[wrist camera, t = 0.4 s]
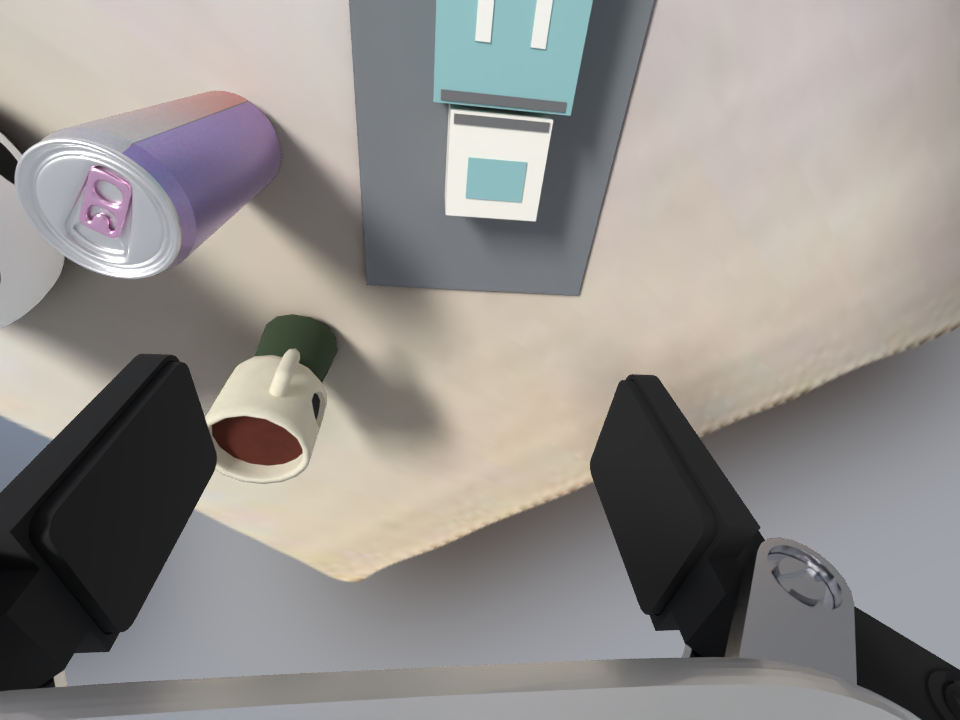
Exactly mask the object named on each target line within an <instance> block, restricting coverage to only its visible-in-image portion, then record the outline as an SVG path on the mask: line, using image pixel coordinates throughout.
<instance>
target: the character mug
mask: <svg viewBox="0 0 960 720" xmlns="http://www.w3.org/2000/svg"><path fill="white" fill-rule="evenodd" d="M337 350H338V348H337V343H336V337H335V336H334V335H333V333H332V332H331V331H330V330H329V328H328V327H327V326H326V325H325V324H323V323H320V322H318V321H316V320H314V319H312V318H309V317H304V316H298V315H286V316H279V317H276V318H275V319H273V320H272V321H271V322H269V323H268V324H267V325H266V327H265V329H264V332H263V334H262V337H261V339H260V343H259V346H258V349H257V352H256V355H255V356H254V357H252V358H250V359H248V360H246V361H244V362H242V363H240V364H239V365H238V366H237V367H236V368H235V370H234V371H233V373H232V374H231V376H230V377H229V379H228V380H227V382H226V384H225V385H224V387H223V389H222V390H221V392H220V394H219V395H218V397H217V399H216V400H215V402H214V404H213V405H212V407H211V409H210V410H209V412H208V414H207V415H206V417H205V419H206V423H207V426H208V429H209V432H210V435H211V438H212V441H213V444H214V447H215V450H216V453H217V464H216V468H215V469H216V470H217V471H218V472H220V473H221V474H223V475H226V476H229V477H231V478H234V479H237V480H240V481H242V482H251V483H260V484H267V483H276V482H283V481H286V480H288V479H291V478H293V477H296V476H298V475H299V474H300V473H301V472H303V471H304V470H305V469H306V467H307V466H308V464H309V461H310V458H311V455H312V451H313V448H314V445H315V441H316V438H317V435H318V432H319V429H320V426H321V423H322V420H323V416H324V411H325V408H326V404H327V393H326V391H325V389H324V386H323V384H322V381H323V380H324V378H325V376H326V374H327V372H328V370H329V368H330V366H331V364H332V361H333V359H334V357H335V355H336V353H337Z"/></svg>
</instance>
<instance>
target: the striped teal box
mask: <svg viewBox="0 0 960 720" xmlns="http://www.w3.org/2000/svg"><path fill="white" fill-rule="evenodd" d="M592 2H593V0H436V30H435V64H434V99H433V102H439V103H449V104H459V105H469V106H479V107H489V108H499V109H509V110H519V111H528V112H538V113H548V114H558V115H568V116H571V111H572V106H573V101H574V95H575V90H576V85H577V80H578V75H579V70H580V64H581V59H582V54H583V49H584V44H585V38H586V33H587V28H588V23H589V18H590V13H591V7H592Z"/></svg>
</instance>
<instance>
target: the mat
mask: <svg viewBox="0 0 960 720" xmlns="http://www.w3.org/2000/svg"><path fill="white" fill-rule="evenodd" d="M653 3H654V0H593V2H592V7H591V13H590V18H589V23H588V28H587V33H586V38H585V44H584V49H583V54H582V59H581V64H580V70H579V75H578V80H577V85H576V90H575V95H574V101H573V106H572V111H571V116H568V115H558V114H548V113H544V114H546V115H547V116H548V117H550V118H551V119H552V120H553V125H552V131H551V137H550V142H549V148H548V154H547V160H546V165H545V171H544V177H543V183H542V188H541V194H540V200H539V206H538V211H537V217H536V221H522V220H508V219H494V218H479V217H465V216H451V215H446V213H445V175H446V154H447V133H448V112H449V103H439V102H433V99H434V64H435V30H436V0H349V8H350V24H351V40H352V56H353V72H354V88H355V104H356V120H357V136H358V152H359V168H360V184H361V200H362V216H363V232H364V248H365V264H366V280H367V285H379V286H399V287H419V288H439V289H459V290H480V291H500V292H520V293H540V294H560V295H578V294H579V290H580V287H581V283H582V279H583V275H584V271H585V267H586V263H587V259H588V255H589V252H590V248H591V244H592V240H593V236H594V232H595V228H596V224H597V221H598V217H599V213H600V209H601V205H602V201H603V197H604V193H605V190H606V186H607V182H608V178H609V174H610V170H611V166H612V162H613V158H614V155H615V151H616V147H617V143H618V139H619V135H620V131H621V127H622V124H623V120H624V116H625V112H626V108H627V104H628V100H629V96H630V92H631V89H632V85H633V81H634V77H635V73H636V69H637V65H638V61H639V58H640V54H641V50H642V46H643V42H644V38H645V34H646V30H647V26H648V23H649V19H650V15H651V11H652V7H653Z"/></svg>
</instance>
